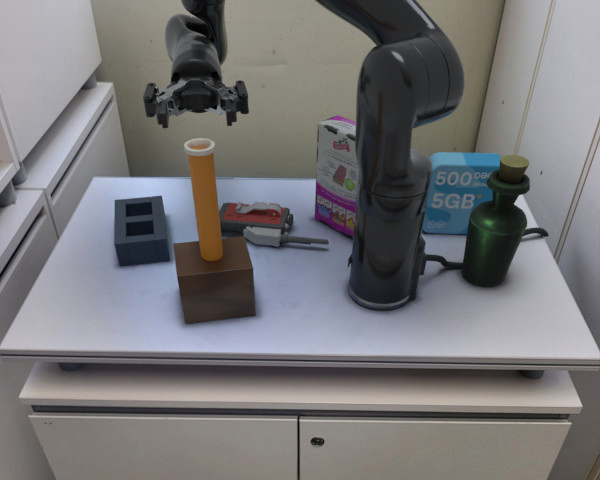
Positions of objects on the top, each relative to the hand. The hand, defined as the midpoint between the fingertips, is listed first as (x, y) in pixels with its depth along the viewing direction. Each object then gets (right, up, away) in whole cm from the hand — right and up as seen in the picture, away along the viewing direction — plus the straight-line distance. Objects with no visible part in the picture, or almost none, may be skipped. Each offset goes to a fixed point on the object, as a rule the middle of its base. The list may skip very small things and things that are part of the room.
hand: (197, 119), depth 78 cm
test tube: (+2, -17, +2) cm, 18 cm away
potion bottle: (+42, -18, +13) cm, 48 cm away
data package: (+40, -8, +23) cm, 47 cm away
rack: (-12, -11, +19) cm, 25 cm away
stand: (+2, -23, +8) cm, 24 cm away
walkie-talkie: (+9, -9, +21) cm, 25 cm away
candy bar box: (+22, -7, +23) cm, 32 cm away
